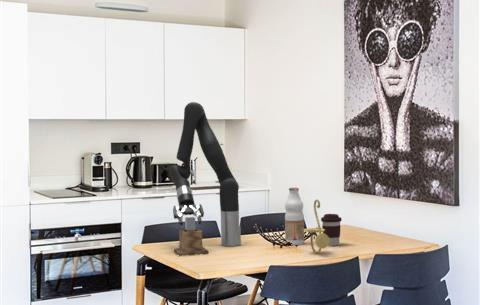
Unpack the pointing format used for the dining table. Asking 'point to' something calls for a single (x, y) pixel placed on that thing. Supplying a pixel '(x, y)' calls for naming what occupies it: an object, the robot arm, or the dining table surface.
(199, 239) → the wooden flanged block
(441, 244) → the dining table surface
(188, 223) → the grey upright cylinder
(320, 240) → the wall sconce
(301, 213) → the fruit juice
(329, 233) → the coffee cup
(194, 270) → the dining table surface
